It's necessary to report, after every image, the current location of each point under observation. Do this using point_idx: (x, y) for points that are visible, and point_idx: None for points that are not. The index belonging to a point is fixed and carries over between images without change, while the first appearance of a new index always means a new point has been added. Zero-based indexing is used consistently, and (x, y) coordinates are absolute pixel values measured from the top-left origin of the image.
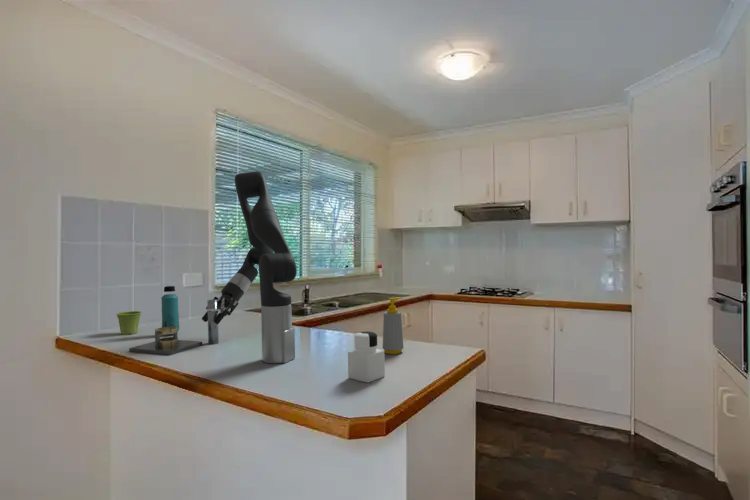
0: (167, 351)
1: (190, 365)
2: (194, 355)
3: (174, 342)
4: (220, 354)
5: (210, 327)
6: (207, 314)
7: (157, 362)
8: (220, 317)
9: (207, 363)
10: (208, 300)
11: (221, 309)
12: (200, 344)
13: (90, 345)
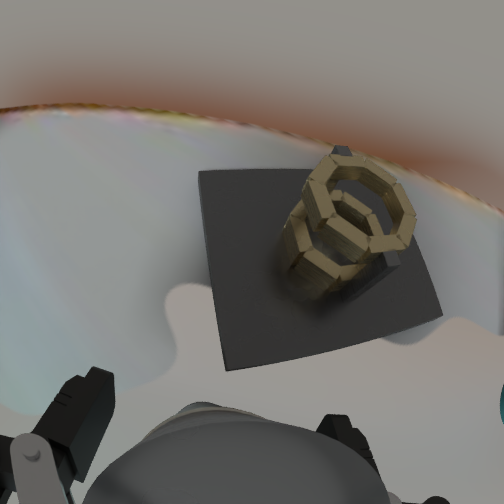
0: (213, 170)
1: (47, 139)
2: (100, 209)
3: (290, 240)
4: (14, 256)
5: (192, 405)
6: None
7: (162, 123)
8: (51, 412)
9: (11, 167)
10: (294, 455)
11: (49, 485)
12: (224, 356)
13: (496, 209)
